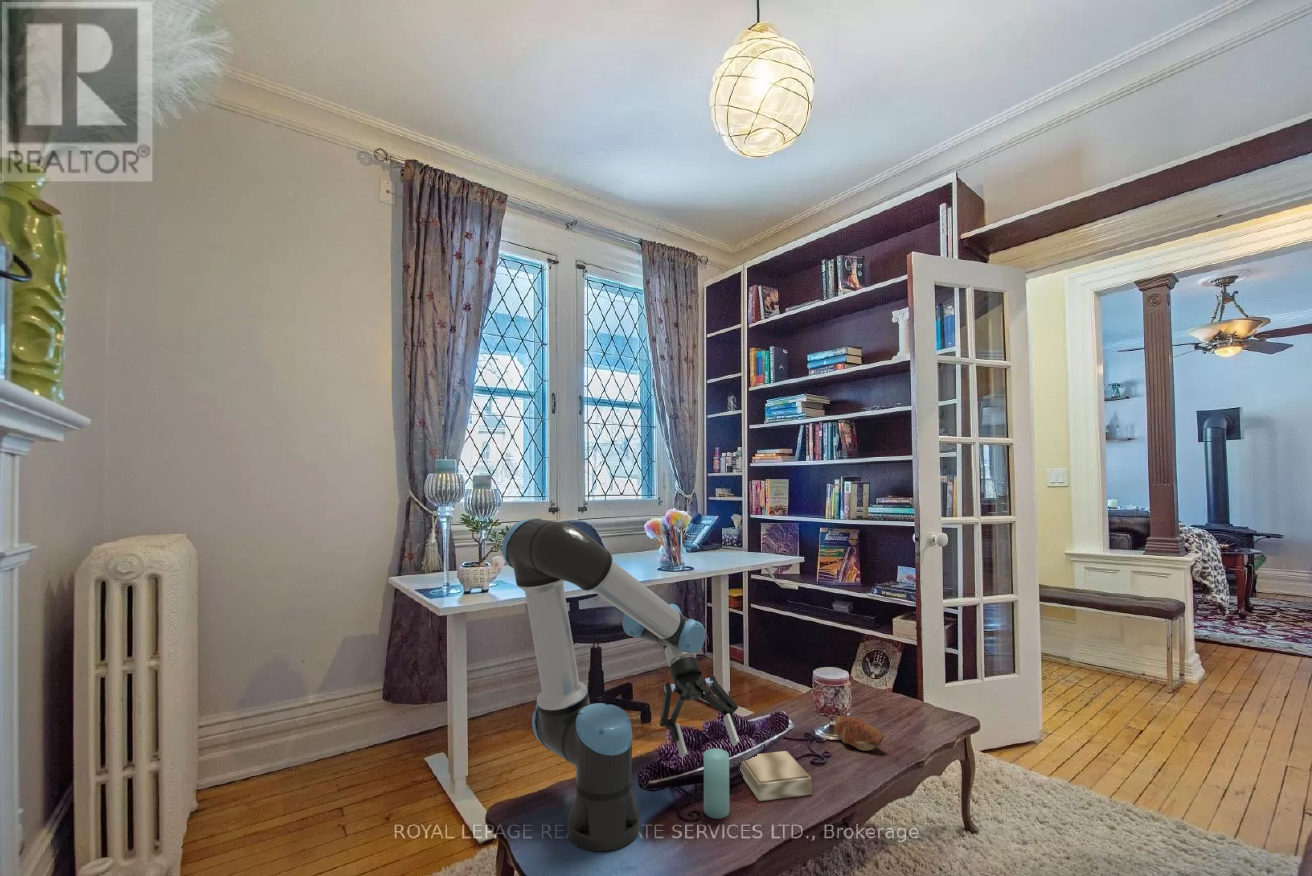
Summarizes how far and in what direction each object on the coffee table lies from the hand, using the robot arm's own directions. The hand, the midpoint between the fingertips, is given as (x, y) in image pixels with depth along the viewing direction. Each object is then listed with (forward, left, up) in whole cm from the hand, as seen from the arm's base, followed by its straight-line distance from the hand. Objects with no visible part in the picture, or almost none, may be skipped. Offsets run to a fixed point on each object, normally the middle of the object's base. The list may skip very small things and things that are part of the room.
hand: (710, 749), depth 132 cm
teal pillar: (-1, -6, -10) cm, 12 cm away
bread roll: (+46, +15, -10) cm, 50 cm away
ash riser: (+16, +2, -10) cm, 19 cm away
